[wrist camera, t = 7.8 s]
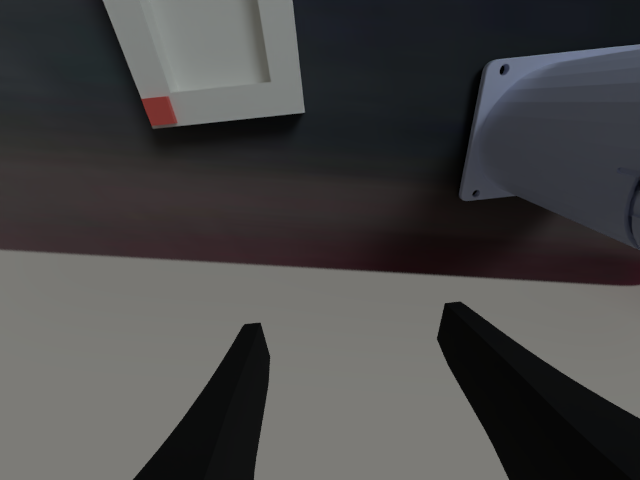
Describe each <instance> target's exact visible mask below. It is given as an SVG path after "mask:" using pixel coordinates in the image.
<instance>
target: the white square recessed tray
mask: <svg viewBox="0 0 640 480" xmlns="http://www.w3.org/2000/svg"><path fill="white" fill-rule="evenodd" d="M103 2H104V4H105V7H106V10H107V12H108V15H109V17H110V20H111V22H112V25H113V28H114V30H115V33H116V35H117V38H118V40H119V43H120V45H121V48H122V51H123V53H124V56H125V58H126V61H127V63H128V66H129V68H130V71H131V74H132V76H133V79H134V81H135V84H136V86H137V89H138V91H139V94H140V97H141V100H142V102H143V105H144V108H145V110H146V113H147V115H148V118H149V120H150V123H151V125H152V127H153V129H156V128H166V127H175V126H184V125H194V124H203V123H212V122H222V121H231V120H241V119H250V118H259V117H269V116H278V115H287V114H297V113H305V110H304V101H303V92H302V83H301V74H300V65H299V56H298V46H297V37H296V28H295V19H294V10H293V1H292V0H103Z"/></svg>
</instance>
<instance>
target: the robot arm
mask: <svg viewBox="0 0 640 480" xmlns="http://www.w3.org/2000/svg"><path fill="white" fill-rule="evenodd" d="M502 66H504V72H503V73H502V75H501V74H500V68H501V67H502ZM475 190H477V192H476V193H475V194H474V195H472V194H473V192H474V191H475ZM510 196H518V197H520V198H523V199H525V200H527V201H529V202H532V203H534V204H536V205H539V206H541V207H543V208H545V209H548V210H550V211H552V212H554V213H557V214H559V215H561V216H563V217H566V218H568V219H570V220H573V221H575V222H577V223H579V224H582V225H584V226H586V227H588V228H591V229H593V230H595V231H598V232H600V233H602V234H604V235H607V236H609V237H611V238H613V239H616V240H618V241H620V242H622V243H625V244H627V245H629V246H632V247H634V248H636V249H638V250H640V44H639V45H629V46H620V47H610V48H601V49H592V50H582V51H573V52H563V53H554V54H544V55H535V56H526V57H516V58H507V59H497V60H493V61H490V62H489V63H487V64H486V65H485V67H484V69H483V71H482V76H481V81H480V86H479V91H478V97H477V102H476V107H475V112H474V117H473V123H472V128H471V133H470V138H469V143H468V149H467V154H466V159H465V164H464V169H463V175H462V180H461V185H460V190H459V197H460V199H462V200H464V201H473V200H482V199H491V198H501V197H510ZM437 340H438V342H439V345H440V347H441V350H442V352H443V355H444V357H445V359H446V361H447V364H448V366H449V367H450V369H451V371H452V373H453V375H454V376H455V378H456V380H457V382H458V383H459V385H460V387H461V389H462V390H463V392H464V394H465V396H466V398H467V399H468V401H469V403H470V405H471V406H472V408H473V410H474V412H475V413H476V415H477V417H478V419H479V420H480V422H481V424H482V426H483V427H484V429H485V431H486V433H487V435H488V436H489V439H490V440H491V442H492V444H493V446H494V448H495V451H496V453H497V455H498V457H499V459H500V461H501V463H502V465H503V467H504V470H505V472H506V474H507V476H508V478H509V480H640V419H639V418H638V417H635V416H634V415H632V414H630V413H629V412H627V411H625V410H623V409H621V408H620V407H618V406H616V405H614V404H613V403H611V402H609V401H608V400H606V399H604V398H603V397H600V396H599V395H597V394H596V393H594V392H592V391H591V390H589V389H587V388H586V387H584V386H582V385H581V384H579V383H577V382H575V381H574V380H573V379H571V378H569V377H568V376H566V375H564V374H563V373H561V372H560V371H558V370H557V369H555V368H554V367H552V366H551V365H549V364H548V363H546V362H544V361H543V360H542V359H540V358H539V357H537V356H536V355H534V354H533V353H531V352H530V351H528V350H527V349H525V348H524V347H523V346H521V345H520V344H518V343H517V342H515V341H514V340H512V339H511V338H510V337H508V336H507V335H506V334H504V333H503V332H501V331H500V330H499V329H497V328H496V327H495V326H493V325H492V324H490V323H489V322H488V321H486V320H485V319H483V318H482V317H481V316H480V315H478V314H477V313H475V312H474V311H473V310H471V309H470V308H469V307H467V306H466V305H465V304H463V303H462V302H452V303H445V305H444V310H443V314H442V319H441V323H440V327H439V332H438V336H437ZM269 365H270V355H269V351H268V348H267V344H266V341H265V337H264V334H263V330H262V326H261V323H252V324H245V325H244V326H243V327H242V329H241V330H240V332H239V334H238V335H237V337H236V339H235V341H234V342H233V344H232V346H231V347H230V349H229V351H228V352H227V354H226V356H225V357H224V359H223V360H222V362H221V363H220V365H219V367H218V368H217V370H216V371H215V373H214V374H213V376H212V378H211V379H210V381H209V382H208V384H207V385H206V387H205V388H204V389H203V391H202V392H201V394H200V395H199V396H198V398H197V399H196V401H195V402H194V404H193V405H192V406H191V408H190V409H189V411H188V412H187V413H186V415H185V416H184V417H183V419H182V420H181V421H180V423H179V424H178V425H177V427H176V428H175V429H174V431H173V432H172V433H171V434H170V436H169V437H168V438H167V440H166V441H165V442H164V443H163V444H162V446H161V447H160V448H159V449H158V451H157V452H156V453H155V454H154V455H153V457H152V458H151V459H150V460H149V461H148V463H147V464H146V465H145V466H144V467H143V468H142V470H141V471H140V472H139V473H138V474H137V476H136V477H135V478H134V479H133V480H254V470H255V462H256V456H257V450H258V444H259V438H260V432H261V426H262V420H263V414H264V408H265V402H266V396H267V390H268V382H269Z"/></svg>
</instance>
